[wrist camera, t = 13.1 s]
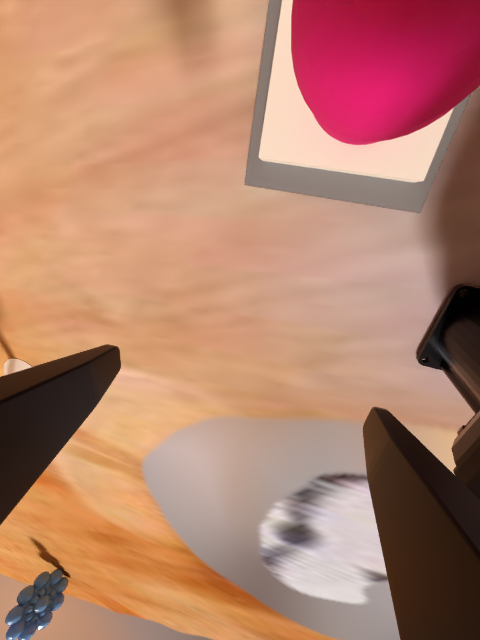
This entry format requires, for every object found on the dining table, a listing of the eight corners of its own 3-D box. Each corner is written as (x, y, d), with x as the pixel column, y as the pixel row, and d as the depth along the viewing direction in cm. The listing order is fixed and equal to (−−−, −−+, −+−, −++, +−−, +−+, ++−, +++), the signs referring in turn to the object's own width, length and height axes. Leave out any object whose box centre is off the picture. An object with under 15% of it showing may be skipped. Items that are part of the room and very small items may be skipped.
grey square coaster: (413, 212, 17) (430, 214, 14) (248, 185, 18) (238, 183, 16) (535, -83, 11) (596, -160, 9) (285, -81, 13) (279, -145, 11)
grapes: (36, 553, 63) (-20, 624, 53) (55, 556, 61) (1, 632, 50) (62, 580, 67) (14, 652, 56) (80, 584, 65) (35, 660, 54)
